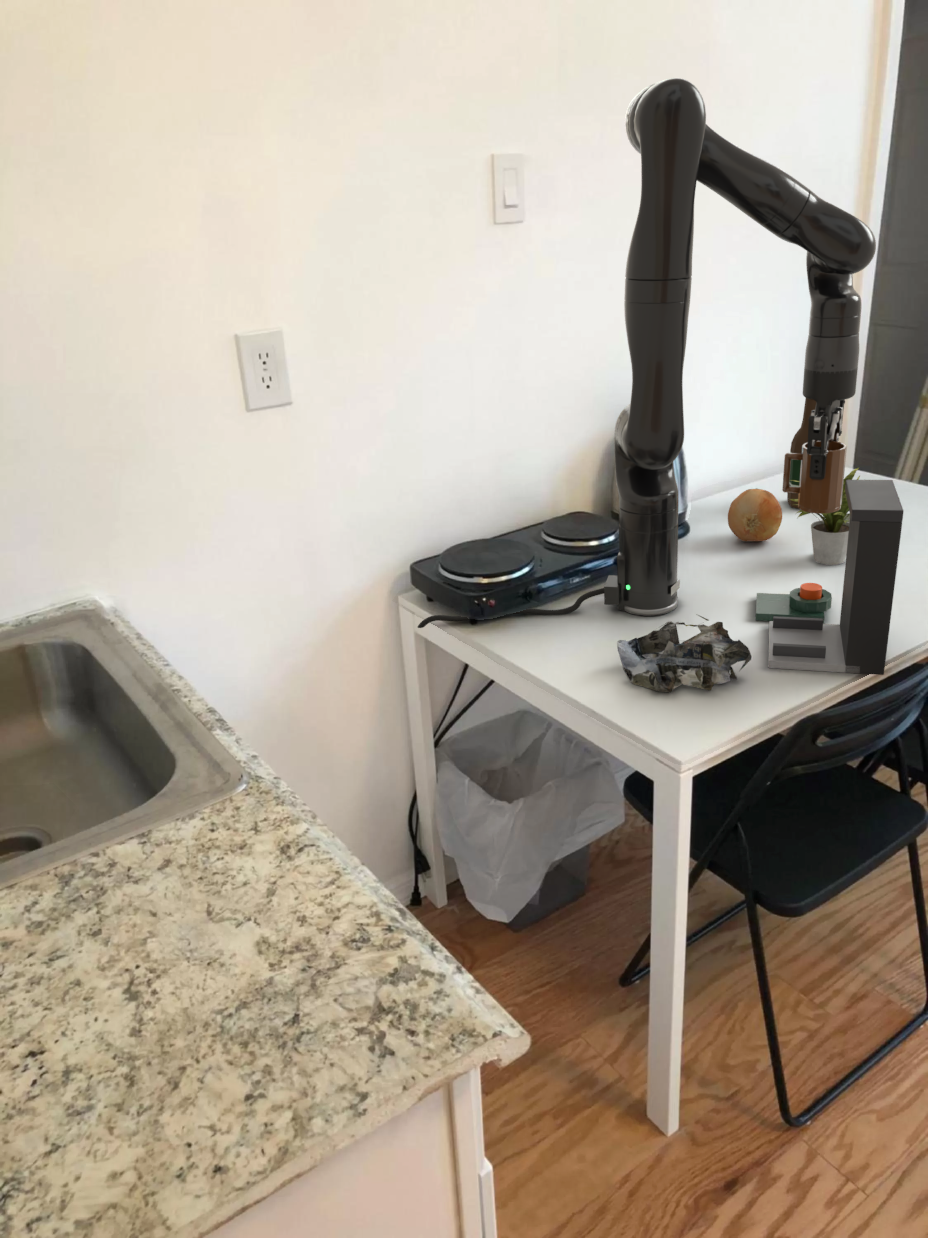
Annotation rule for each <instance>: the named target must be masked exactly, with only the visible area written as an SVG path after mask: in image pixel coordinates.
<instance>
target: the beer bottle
mask: <svg viewBox="0 0 928 1238" xmlns="http://www.w3.org/2000/svg"><path fill="white" fill-rule="evenodd" d="M815 407H816V401H815V400H813V399H808V398H805V401H804V407H803V415H802V420H801V423H800V427H799V429H798V430H797V431H796V433H794V436H793V438H792V440H791V442H790V450H789V453H798V454H802V445H803V444H805V443H808V425H809V421H808V419H809V417H810V416H811V412H812V410H815ZM800 469H801V460H792V459H791V467H790V482H789V486H790V487H799V483H800V482H796V481H800ZM791 480H795V481H791ZM786 493H787V492H786ZM798 496H799V493H787V496H786V497H787V500H786V501H787V504H788V505H789V506H790V508H792V509H798V510H800V509H799V508H798V505H794V504H798V502H795V501H792V500H790V499H798Z"/></svg>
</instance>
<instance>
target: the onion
mask: <svg viewBox="0 0 928 1238" xmlns="http://www.w3.org/2000/svg"><path fill="white" fill-rule="evenodd" d="M782 522H783V510H782V505H781V504H780V502H779V501H778V499H777V497H776V496H775V495H774V494H773V493H772V492H770V491H768V490H766V489H762V488H748V489H746V490H744V491H742V492H741V493H740V494H739V495H737V496H736V497H735V498H733V500H732V502H731V503H730V506H729V509H728V511H727V525H728V527H729V529H730V531H731V532H732V533H733V535H734V536H735V537H736V538H738V539H739V540H740V541H741V542H767V541H769V540H770V539H772V538H773V537H774V536H775V535H776V534H777V533H778V532H779V529H780V527H781V524H782Z"/></svg>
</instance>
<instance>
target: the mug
mask: <svg viewBox="0 0 928 1238" xmlns="http://www.w3.org/2000/svg"><path fill="white" fill-rule="evenodd" d="M807 444H808V443H805V444H803V445H802V454H798V453H790V452H786V453H785V454H784V457H783V458H784V460H783V462H784V463H783V473H782V474H783V475H782V476H783V477H782V492H783V493H799V496H798V508H799V509H798V510H799V511H800V510H802V511H805V512H809V514H812V513H813V514H816V513H818V514H820V515H822V514H824V513H833V512H836V511H838V510H840V508H841V504H842V493H843V483H844V478H845V471H846V462H847V461H846V459H847V449H848V446H847V444H846V443H843V442H840V441H838V442H836V441H832V442H830V443H829V448H828V454H827V460H826V472H825V477H824V479H822V480H816V479H811V478H810V477H809V474H810V461H811V455H810V454H807ZM815 447H821V441H817V442H816V445H815ZM791 459H792V460H801V469H800V483H799V487H790V486H789V482H790V467H791ZM818 514H817V515H818Z"/></svg>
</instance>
